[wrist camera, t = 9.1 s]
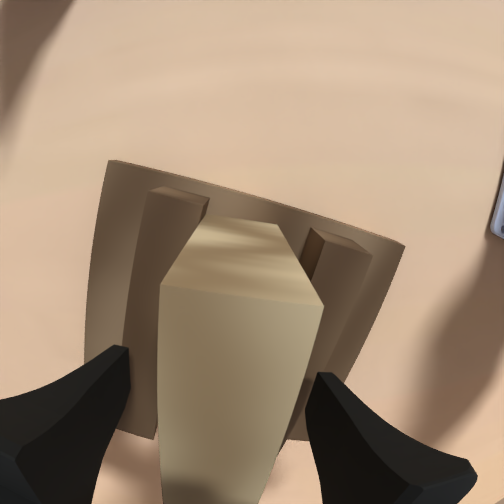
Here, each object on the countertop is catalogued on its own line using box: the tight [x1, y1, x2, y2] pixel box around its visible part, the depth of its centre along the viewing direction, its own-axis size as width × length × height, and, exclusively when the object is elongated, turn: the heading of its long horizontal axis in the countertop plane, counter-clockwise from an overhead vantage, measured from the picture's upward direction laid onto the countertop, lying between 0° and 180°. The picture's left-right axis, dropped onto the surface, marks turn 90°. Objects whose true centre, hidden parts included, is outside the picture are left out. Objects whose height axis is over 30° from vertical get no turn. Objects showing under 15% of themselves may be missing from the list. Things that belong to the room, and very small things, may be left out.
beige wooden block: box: [157, 214, 324, 504], centre depth 11 cm, size 3×10×8 cm, turn 171°
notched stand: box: [84, 160, 405, 454], centre depth 14 cm, size 14×13×4 cm
